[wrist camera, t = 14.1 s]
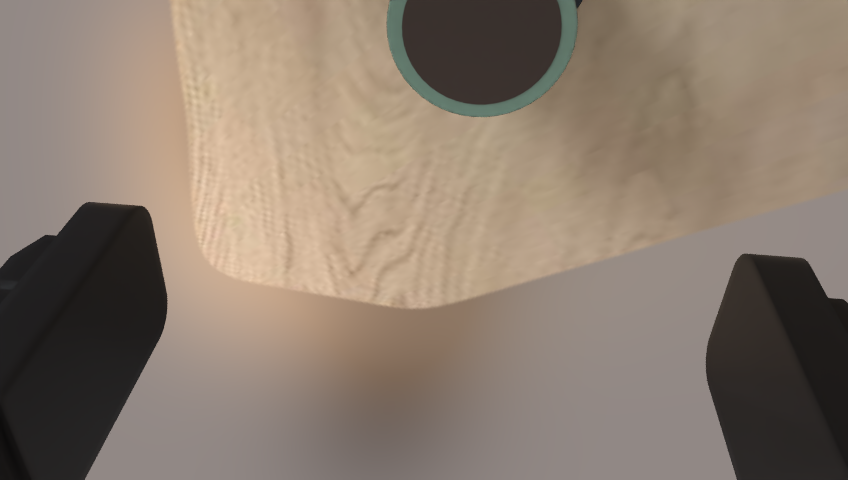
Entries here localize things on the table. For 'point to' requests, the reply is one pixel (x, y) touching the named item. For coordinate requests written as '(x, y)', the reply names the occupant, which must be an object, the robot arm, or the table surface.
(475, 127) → the table surface
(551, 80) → the cup
